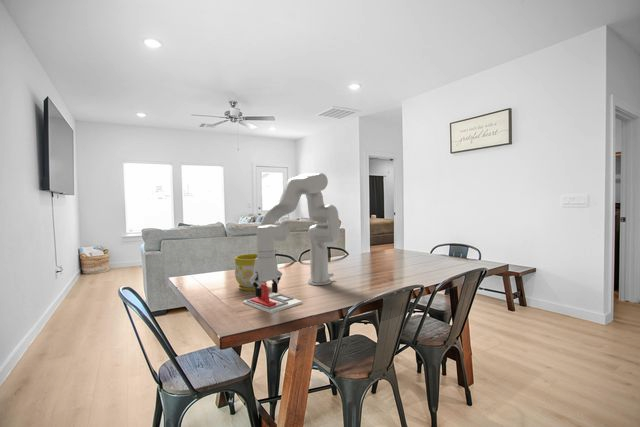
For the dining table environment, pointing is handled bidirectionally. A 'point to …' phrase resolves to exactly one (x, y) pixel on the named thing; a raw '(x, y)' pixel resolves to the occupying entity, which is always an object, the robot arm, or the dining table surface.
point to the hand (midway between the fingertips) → (266, 294)
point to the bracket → (264, 297)
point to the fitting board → (280, 300)
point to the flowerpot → (245, 271)
